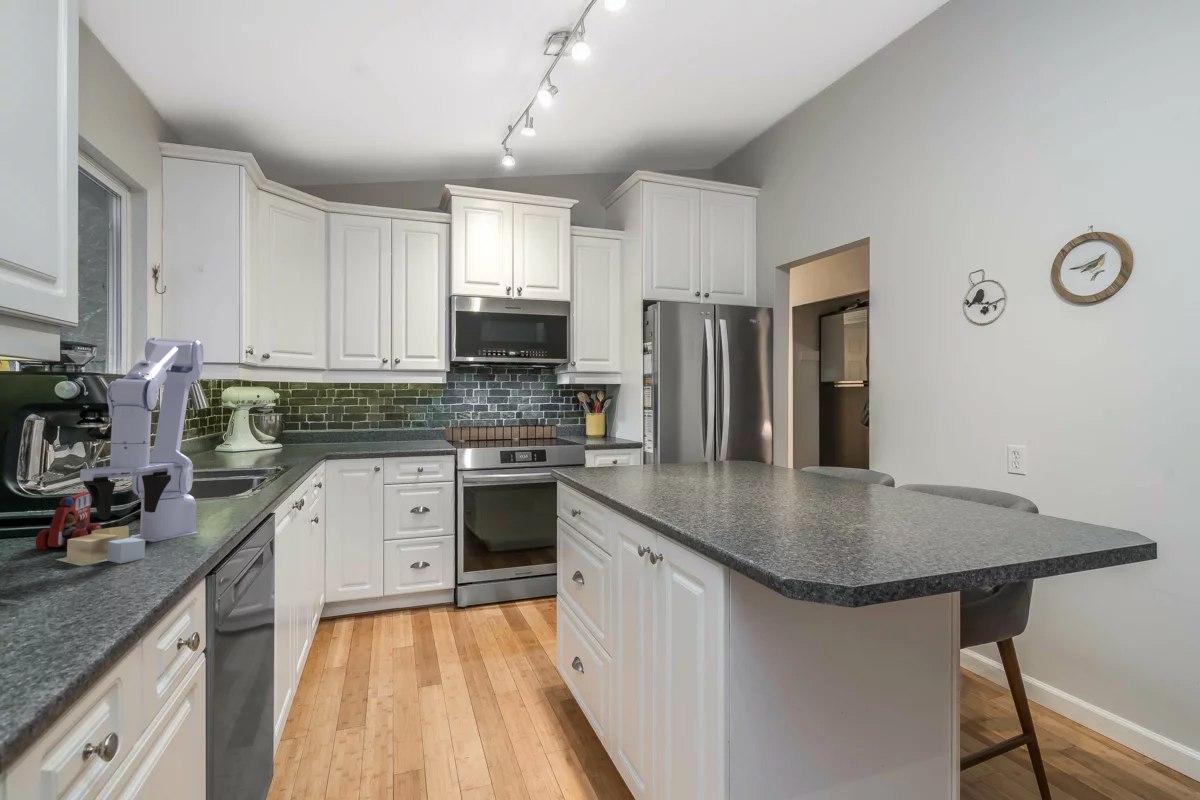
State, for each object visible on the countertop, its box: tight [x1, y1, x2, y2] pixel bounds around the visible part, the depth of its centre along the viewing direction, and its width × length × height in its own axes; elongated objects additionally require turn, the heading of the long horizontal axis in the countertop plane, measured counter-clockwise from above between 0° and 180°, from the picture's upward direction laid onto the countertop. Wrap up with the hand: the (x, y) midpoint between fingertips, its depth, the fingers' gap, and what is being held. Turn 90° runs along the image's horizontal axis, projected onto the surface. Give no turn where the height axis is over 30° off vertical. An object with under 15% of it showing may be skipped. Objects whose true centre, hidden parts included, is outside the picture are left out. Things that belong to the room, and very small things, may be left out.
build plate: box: [55, 556, 108, 567], centre depth 110 cm, size 10×8×1 cm
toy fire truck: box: [35, 491, 103, 551], centre depth 117 cm, size 7×12×10 cm, turn 18°
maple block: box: [66, 533, 118, 565], centre depth 108 cm, size 5×5×4 cm
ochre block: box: [91, 525, 130, 540], centre depth 115 cm, size 4×4×4 cm
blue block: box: [106, 537, 146, 564], centre depth 109 cm, size 4×4×4 cm
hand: (127, 515), depth 109 cm, fingers open, 7 cm apart
